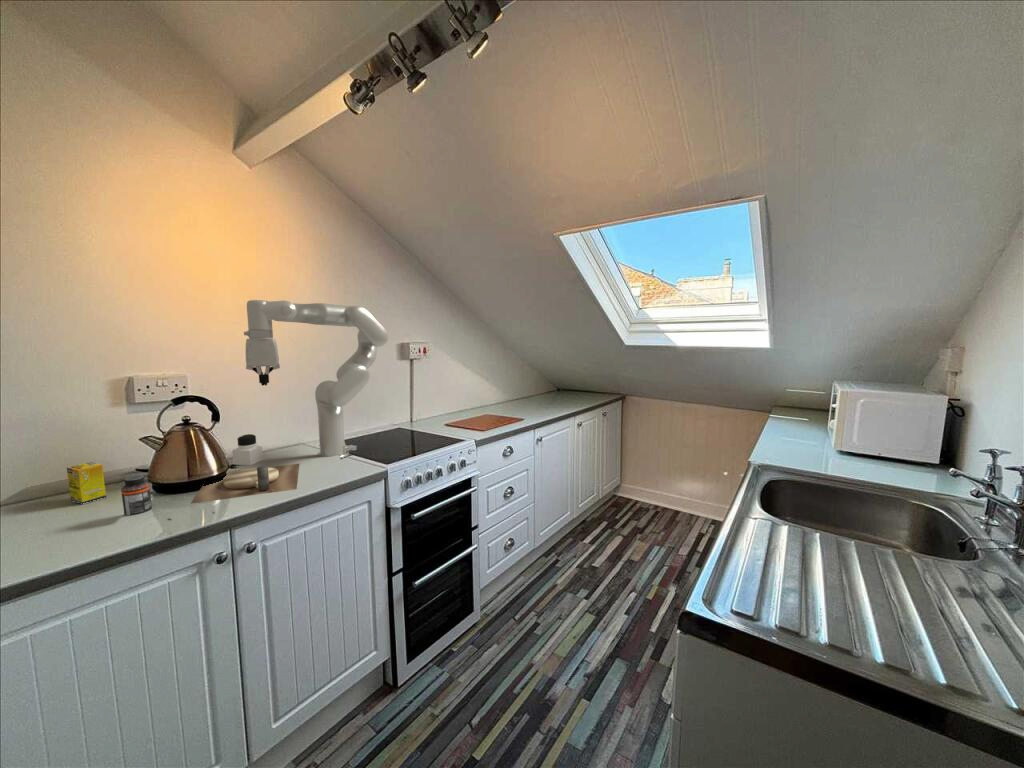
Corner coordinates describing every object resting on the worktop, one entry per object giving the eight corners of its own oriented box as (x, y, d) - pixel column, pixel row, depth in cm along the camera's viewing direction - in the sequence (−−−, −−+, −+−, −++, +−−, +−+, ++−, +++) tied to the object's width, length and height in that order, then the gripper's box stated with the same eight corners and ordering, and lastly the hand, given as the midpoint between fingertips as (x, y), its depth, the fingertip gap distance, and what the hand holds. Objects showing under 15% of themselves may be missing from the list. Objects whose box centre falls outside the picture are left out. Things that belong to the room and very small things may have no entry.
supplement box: (70, 502, 128) (65, 467, 126) (95, 494, 133) (91, 461, 132) (82, 505, 126) (77, 469, 124) (106, 497, 131) (102, 463, 130)
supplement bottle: (130, 513, 121) (125, 475, 119) (155, 509, 123) (151, 472, 121) (120, 521, 115) (115, 482, 114) (147, 518, 117) (143, 479, 116)
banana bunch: (217, 479, 142) (215, 459, 141) (269, 468, 153) (268, 449, 152) (236, 497, 127) (234, 475, 126) (292, 483, 139) (290, 462, 138)
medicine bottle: (263, 463, 166) (261, 433, 164) (250, 469, 159) (248, 438, 157) (246, 462, 166) (244, 432, 165) (233, 468, 159) (230, 437, 158)
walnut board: (299, 467, 161) (299, 463, 161) (296, 493, 136) (296, 488, 136) (211, 477, 149) (211, 473, 149) (190, 508, 124) (190, 503, 124)
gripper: (234, 335, 145) (238, 387, 148) (283, 335, 152) (286, 385, 154) (238, 334, 152) (242, 384, 155) (285, 334, 158) (288, 382, 161)
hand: (264, 385), depth 154 cm, fingers closed
